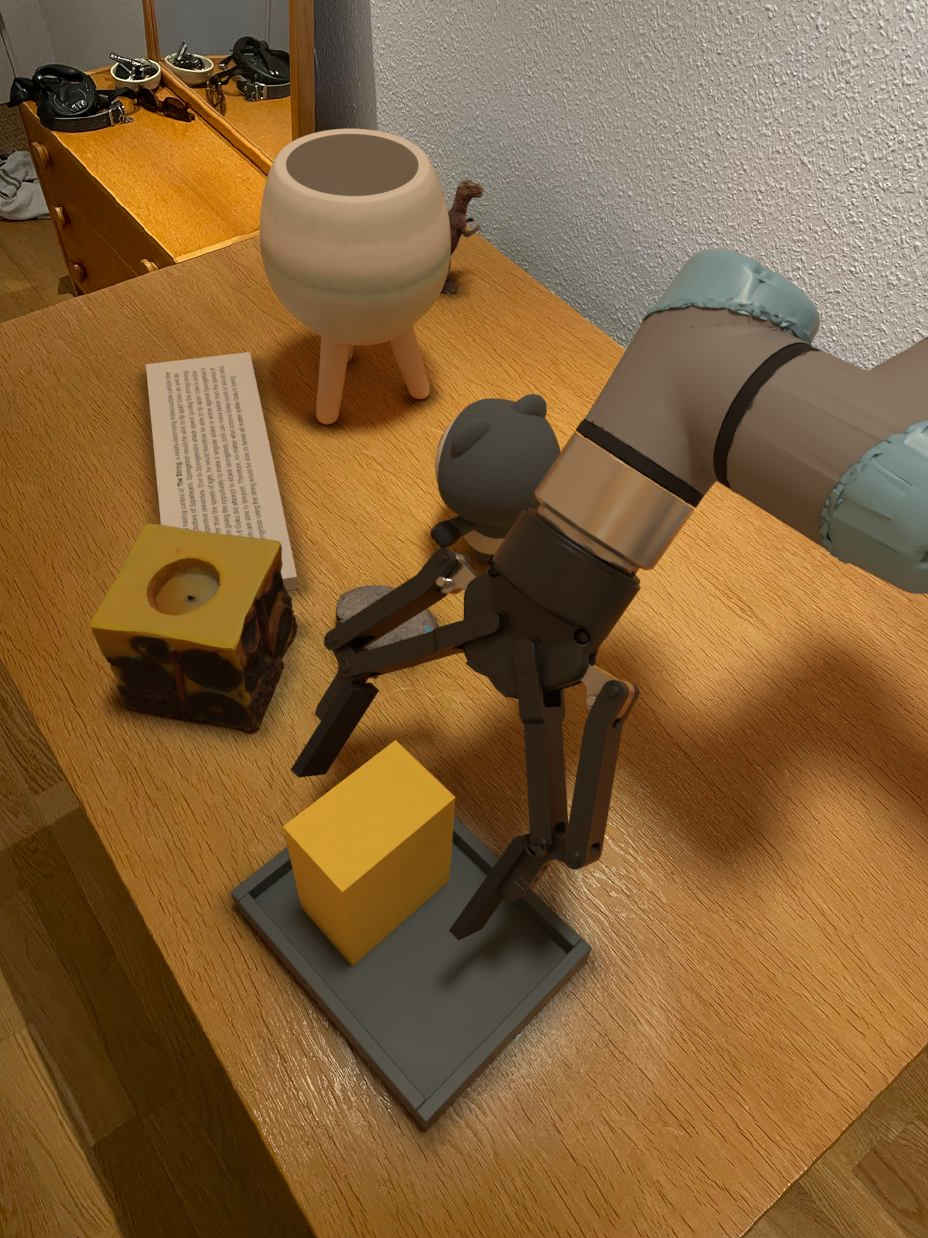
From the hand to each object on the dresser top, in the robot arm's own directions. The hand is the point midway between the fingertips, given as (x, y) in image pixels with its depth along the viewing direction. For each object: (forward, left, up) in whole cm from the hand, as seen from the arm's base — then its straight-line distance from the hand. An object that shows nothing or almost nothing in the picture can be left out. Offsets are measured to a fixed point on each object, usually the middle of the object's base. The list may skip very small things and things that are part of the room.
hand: (382, 847), depth 55 cm
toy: (+17, -27, -7) cm, 32 cm away
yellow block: (0, 0, -6) cm, 6 cm away
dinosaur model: (+50, -49, -7) cm, 70 cm away
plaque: (+40, -15, -7) cm, 43 cm away
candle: (+22, -3, -7) cm, 24 cm away
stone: (+16, -15, -7) cm, 23 cm away
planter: (+40, -33, -7) cm, 52 cm away
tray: (-3, 0, -7) cm, 8 cm away
